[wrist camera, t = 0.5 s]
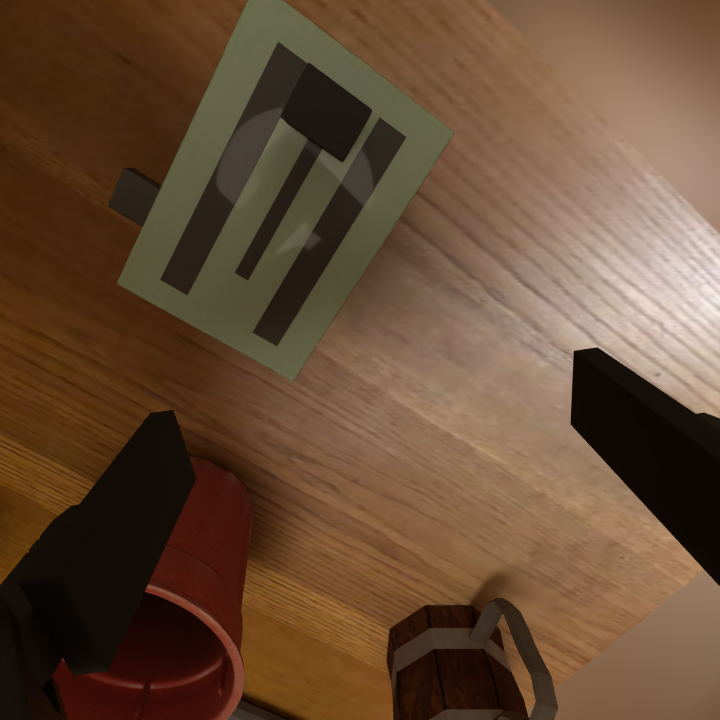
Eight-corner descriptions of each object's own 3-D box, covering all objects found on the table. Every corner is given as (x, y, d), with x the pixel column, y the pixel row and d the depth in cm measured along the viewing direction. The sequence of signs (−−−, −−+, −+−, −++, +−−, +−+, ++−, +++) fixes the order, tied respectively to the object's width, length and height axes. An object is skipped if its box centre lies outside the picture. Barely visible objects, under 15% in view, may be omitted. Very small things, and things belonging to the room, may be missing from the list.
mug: (463, 695, 56) (504, 869, 42) (363, 667, 53) (371, 841, 39) (554, 585, 49) (638, 746, 35) (445, 546, 47) (489, 703, 33)
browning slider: (312, 74, 21) (308, 61, 19) (369, 117, 22) (372, 109, 19) (286, 123, 22) (279, 116, 19) (343, 162, 23) (343, 161, 20)
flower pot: (150, 399, 39) (32, 534, 24) (310, 487, 43) (292, 649, 28) (74, 525, 44) (-64, 702, 29) (224, 593, 48) (170, 781, 33)
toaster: (248, 18, 30) (197, -67, 19) (420, 146, 33) (455, 132, 22) (147, 232, 34) (64, 255, 24) (306, 326, 37) (292, 382, 27)
